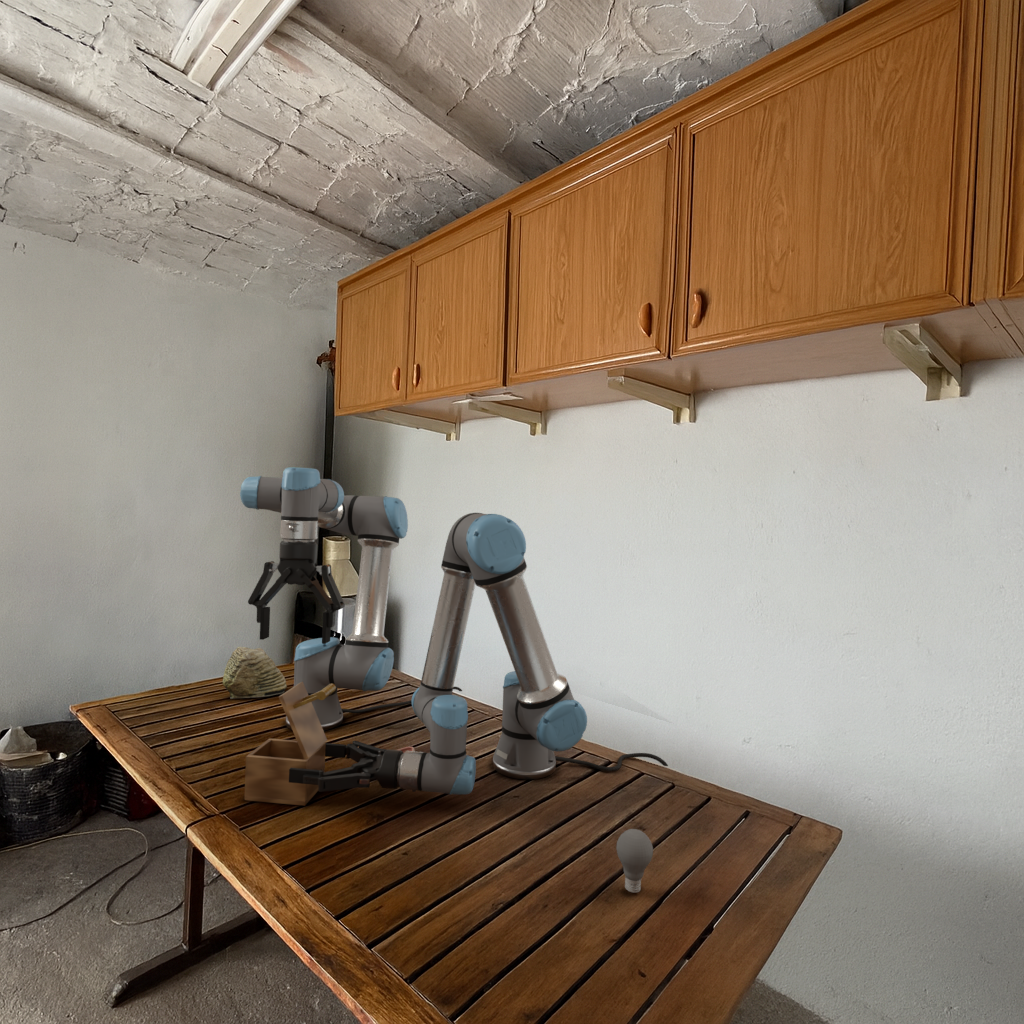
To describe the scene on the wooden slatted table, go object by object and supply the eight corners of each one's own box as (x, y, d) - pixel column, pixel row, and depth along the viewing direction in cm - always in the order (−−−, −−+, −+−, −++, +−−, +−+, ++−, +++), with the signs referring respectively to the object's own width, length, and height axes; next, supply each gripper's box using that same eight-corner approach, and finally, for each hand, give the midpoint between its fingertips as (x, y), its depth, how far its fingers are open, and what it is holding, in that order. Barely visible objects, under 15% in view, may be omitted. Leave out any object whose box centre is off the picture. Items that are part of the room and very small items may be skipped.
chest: (244, 800, 131) (245, 756, 131) (267, 779, 141) (269, 738, 141) (304, 805, 130) (306, 761, 129) (324, 784, 140) (325, 742, 139)
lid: (278, 696, 130) (314, 681, 129) (299, 682, 140) (333, 668, 139) (304, 760, 129) (341, 745, 129) (324, 741, 140) (358, 727, 139)
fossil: (218, 695, 195) (220, 647, 195) (278, 685, 208) (279, 640, 207) (228, 703, 189) (230, 653, 188) (289, 692, 201) (290, 645, 201)
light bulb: (610, 879, 108) (613, 822, 108) (644, 879, 109) (647, 822, 109) (619, 902, 102) (622, 840, 102) (655, 901, 103) (658, 840, 103)
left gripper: (233, 538, 131) (229, 640, 132) (349, 544, 129) (345, 648, 130) (251, 536, 139) (247, 632, 139) (361, 542, 137) (358, 640, 137)
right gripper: (382, 816, 120) (276, 806, 122) (415, 763, 145) (326, 755, 147) (384, 777, 120) (277, 768, 122) (416, 730, 145) (327, 723, 147)
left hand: (295, 640), depth 134 cm, fingers open, 13 cm apart
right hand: (303, 761), depth 135 cm, fingers open, 13 cm apart
